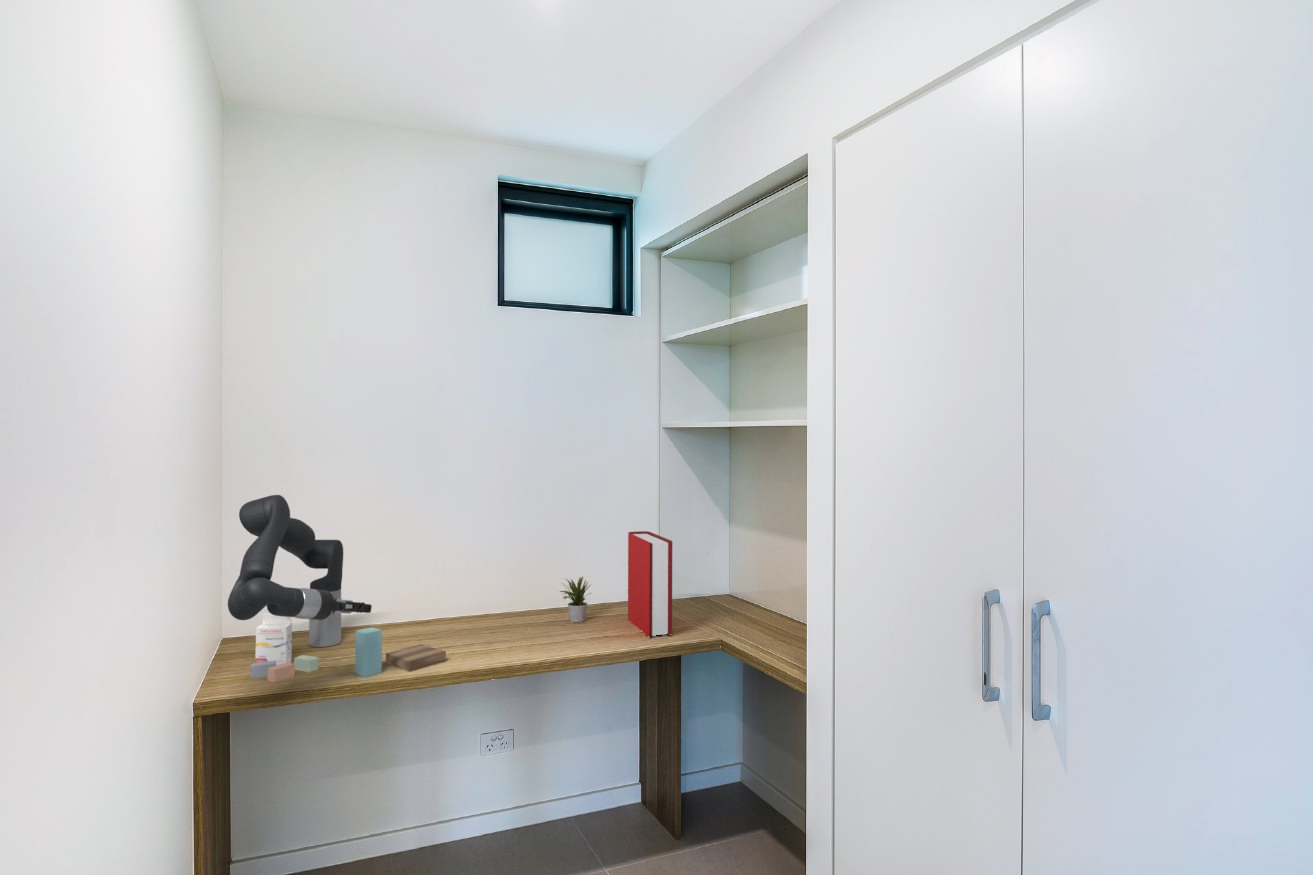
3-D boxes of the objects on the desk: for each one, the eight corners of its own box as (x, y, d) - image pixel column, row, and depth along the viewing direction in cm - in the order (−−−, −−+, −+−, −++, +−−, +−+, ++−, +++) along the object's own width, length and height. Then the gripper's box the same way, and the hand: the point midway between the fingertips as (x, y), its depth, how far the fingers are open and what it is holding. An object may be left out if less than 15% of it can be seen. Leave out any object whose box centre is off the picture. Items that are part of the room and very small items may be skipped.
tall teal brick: (355, 673, 206) (355, 630, 206) (371, 669, 210) (371, 627, 210) (365, 677, 203) (365, 633, 203) (381, 672, 207) (381, 630, 207)
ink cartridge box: (254, 668, 210) (254, 617, 210) (260, 663, 215) (261, 613, 215) (286, 667, 212) (286, 616, 212) (292, 662, 217) (292, 612, 217)
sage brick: (294, 670, 210) (294, 657, 210) (302, 667, 213) (302, 654, 213) (310, 672, 208) (310, 660, 208) (318, 669, 210) (318, 657, 210)
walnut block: (385, 663, 216) (386, 653, 216) (421, 654, 225) (421, 644, 225) (410, 671, 208) (410, 660, 208) (445, 661, 218) (445, 651, 218)
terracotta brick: (274, 682, 199) (274, 669, 199) (267, 680, 201) (267, 667, 201) (294, 676, 204) (294, 663, 204) (287, 674, 206) (287, 662, 206)
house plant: (560, 615, 275) (561, 571, 275) (597, 615, 275) (597, 571, 275) (554, 624, 261) (554, 578, 261) (592, 625, 261) (593, 579, 261)
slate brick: (250, 678, 202) (250, 666, 202) (251, 675, 205) (251, 663, 205) (275, 676, 204) (275, 663, 204) (276, 673, 207) (276, 660, 207)
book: (672, 636, 246) (672, 541, 246) (649, 638, 244) (649, 542, 244) (647, 617, 272) (648, 531, 272) (626, 619, 270) (627, 531, 270)
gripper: (332, 589, 185) (380, 594, 199) (292, 588, 192) (342, 593, 206) (327, 619, 183) (376, 623, 197) (287, 618, 189) (337, 621, 203)
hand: (358, 608), depth 201 cm, fingers open, 8 cm apart
